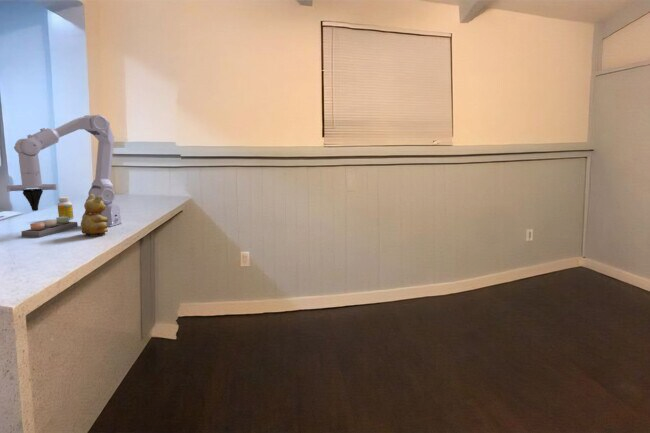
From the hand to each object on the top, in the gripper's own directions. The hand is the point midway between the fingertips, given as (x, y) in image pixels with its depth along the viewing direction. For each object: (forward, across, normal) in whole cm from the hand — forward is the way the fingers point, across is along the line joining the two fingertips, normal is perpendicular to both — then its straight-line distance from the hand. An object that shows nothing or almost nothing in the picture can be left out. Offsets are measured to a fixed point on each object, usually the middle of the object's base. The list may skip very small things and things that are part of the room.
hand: (35, 210), depth 144 cm
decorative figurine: (+9, -18, +8) cm, 22 cm away
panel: (+9, -3, -5) cm, 11 cm away
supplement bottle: (+9, -5, -32) cm, 33 cm away
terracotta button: (+7, 0, 0) cm, 7 cm away
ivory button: (+7, -3, -5) cm, 9 cm away
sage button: (+7, -6, -10) cm, 14 cm away
